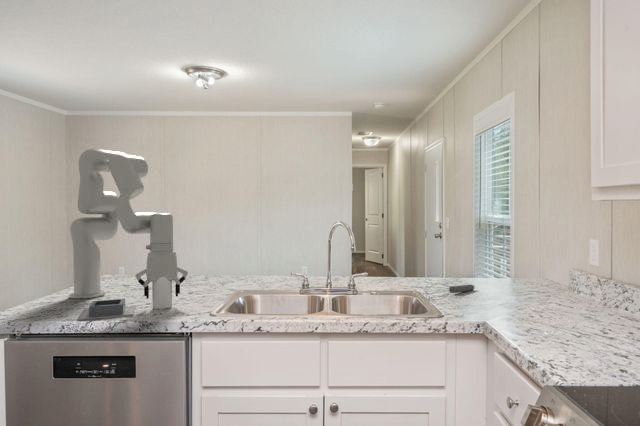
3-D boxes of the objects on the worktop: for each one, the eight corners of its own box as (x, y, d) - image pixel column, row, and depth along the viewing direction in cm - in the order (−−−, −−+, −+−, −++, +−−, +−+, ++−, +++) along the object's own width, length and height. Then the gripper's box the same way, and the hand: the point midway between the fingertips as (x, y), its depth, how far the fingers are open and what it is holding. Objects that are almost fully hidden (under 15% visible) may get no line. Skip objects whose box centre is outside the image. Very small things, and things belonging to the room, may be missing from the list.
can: (175, 305, 152) (175, 272, 152) (167, 310, 146) (166, 275, 146) (158, 305, 153) (157, 272, 153) (149, 309, 147) (148, 274, 146)
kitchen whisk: (481, 291, 177) (481, 275, 177) (433, 303, 156) (433, 286, 156) (467, 289, 182) (467, 274, 182) (419, 300, 160) (419, 284, 160)
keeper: (84, 311, 145) (84, 300, 145) (135, 306, 151) (135, 296, 151) (76, 320, 132) (76, 309, 132) (133, 315, 138) (132, 304, 138)
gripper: (134, 250, 143) (135, 301, 143) (188, 248, 149) (188, 296, 149) (135, 248, 150) (136, 296, 150) (186, 246, 156) (187, 293, 156)
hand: (162, 296), depth 149 cm, fingers open, 9 cm apart
